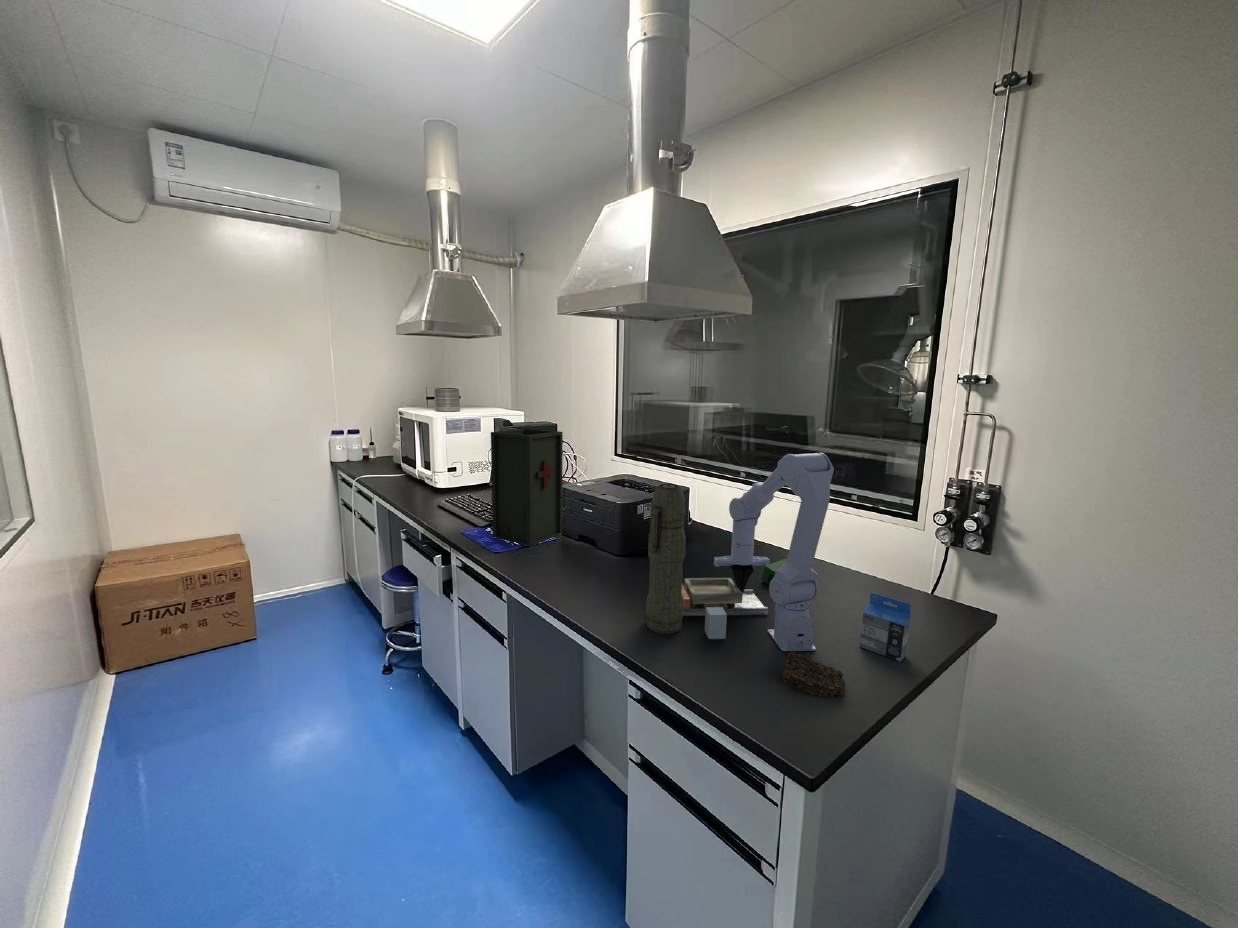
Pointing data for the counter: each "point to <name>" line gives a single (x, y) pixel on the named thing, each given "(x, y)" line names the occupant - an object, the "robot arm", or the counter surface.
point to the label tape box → (886, 627)
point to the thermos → (666, 559)
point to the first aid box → (526, 485)
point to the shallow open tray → (712, 591)
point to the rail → (747, 606)
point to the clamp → (771, 571)
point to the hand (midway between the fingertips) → (739, 591)
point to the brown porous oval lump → (812, 676)
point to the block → (715, 623)
